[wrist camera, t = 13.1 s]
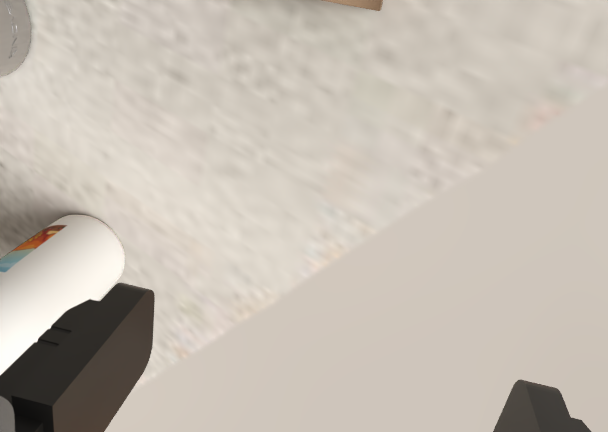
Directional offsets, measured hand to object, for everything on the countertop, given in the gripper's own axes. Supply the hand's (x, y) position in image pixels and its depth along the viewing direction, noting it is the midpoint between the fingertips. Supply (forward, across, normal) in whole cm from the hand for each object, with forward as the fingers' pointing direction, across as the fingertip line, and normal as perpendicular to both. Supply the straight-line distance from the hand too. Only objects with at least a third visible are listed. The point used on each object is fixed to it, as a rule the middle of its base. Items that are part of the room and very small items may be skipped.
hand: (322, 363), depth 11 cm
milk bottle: (+30, +23, +19) cm, 43 cm away
